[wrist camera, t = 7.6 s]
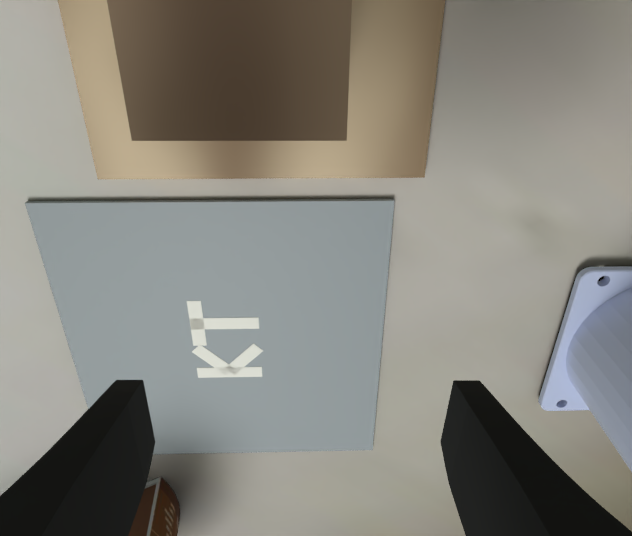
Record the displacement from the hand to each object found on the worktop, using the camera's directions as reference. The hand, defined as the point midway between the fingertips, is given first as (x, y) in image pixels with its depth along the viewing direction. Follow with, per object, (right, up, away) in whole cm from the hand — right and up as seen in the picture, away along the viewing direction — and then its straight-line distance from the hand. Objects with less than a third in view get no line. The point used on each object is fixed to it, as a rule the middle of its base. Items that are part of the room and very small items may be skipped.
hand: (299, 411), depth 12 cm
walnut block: (-2, +12, +4) cm, 12 cm away
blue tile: (-4, 0, +11) cm, 12 cm away
